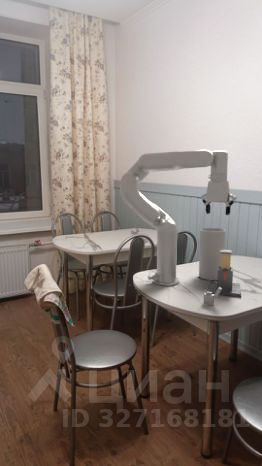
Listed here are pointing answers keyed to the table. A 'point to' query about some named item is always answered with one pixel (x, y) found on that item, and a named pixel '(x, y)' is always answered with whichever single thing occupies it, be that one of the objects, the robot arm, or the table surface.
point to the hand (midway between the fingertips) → (217, 214)
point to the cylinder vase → (211, 252)
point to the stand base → (225, 283)
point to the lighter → (211, 297)
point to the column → (225, 259)
